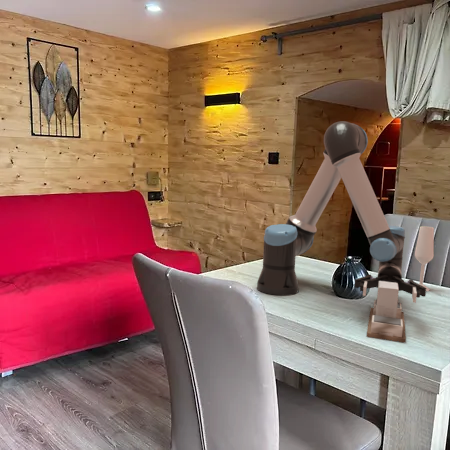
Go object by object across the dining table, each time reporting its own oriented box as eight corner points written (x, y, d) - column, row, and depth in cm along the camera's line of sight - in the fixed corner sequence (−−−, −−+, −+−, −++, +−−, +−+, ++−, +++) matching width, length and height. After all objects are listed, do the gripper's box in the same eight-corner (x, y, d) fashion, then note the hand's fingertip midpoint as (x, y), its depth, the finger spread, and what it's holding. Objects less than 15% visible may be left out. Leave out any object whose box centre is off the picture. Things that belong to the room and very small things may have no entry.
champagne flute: (407, 287, 175) (413, 226, 171) (417, 285, 179) (423, 225, 175) (424, 292, 169) (430, 229, 166) (433, 289, 173) (440, 227, 170)
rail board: (366, 336, 124) (367, 321, 123) (370, 310, 146) (371, 297, 146) (405, 342, 121) (407, 327, 120) (403, 314, 143) (404, 301, 142)
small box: (395, 325, 129) (399, 289, 127) (375, 322, 131) (378, 287, 129) (395, 316, 137) (398, 282, 135) (375, 313, 138) (378, 280, 137)
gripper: (429, 293, 145) (435, 313, 125) (349, 283, 153) (343, 301, 134) (432, 270, 144) (438, 287, 124) (351, 261, 152) (345, 276, 133)
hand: (389, 294), depth 129 cm, fingers open, 13 cm apart
